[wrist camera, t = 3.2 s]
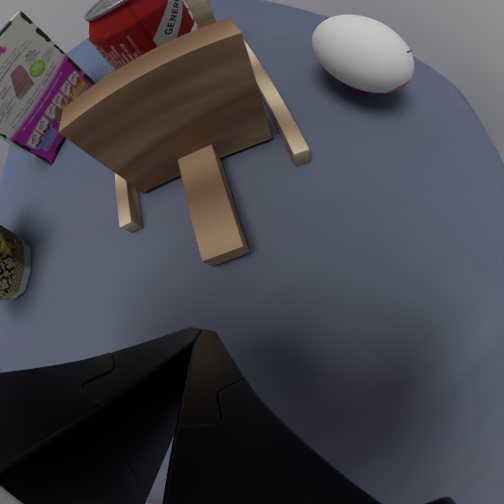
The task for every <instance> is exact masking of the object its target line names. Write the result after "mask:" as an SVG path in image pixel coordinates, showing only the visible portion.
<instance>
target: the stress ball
mask: <svg viewBox="0 0 504 504" xmlns="http://www.w3.org/2000/svg"><path fill="white" fill-rule="evenodd" d="M325 17H326V16H325ZM326 18H327V17H326ZM312 48H313V51H314V54H315V56H316V58H317V60H318V61H319V63H320V64H321V65H322V66H323V67H324V69H325V70H326V71H328V72H329V73H330V74H331V75H332V76H334V77H335V78H336V79H338V80H340V81H341V82H343V83H345V84H347V85H349V86H351V87H349V88H351V89H353V90H355V91H357V92H359V93H360V91H359V90H363V91H367V92H373V93H388V92H393V91H396V90H399V89H401V88H403V87H404V86H406V85H407V84H408V83H409V81H410V80H411V78H412V76H413V72H414V60H413V57H412V54H411V52H410V50H409V48H408V46H407V45H406V43H405V42H404V41H403V39H402V38H401V37H400V36H399V35H398V34H397V33H395V32H394V31H393V30H392V29H390V28H389V27H387V26H386V25H384V24H382V23H380V22H378V21H376V20H373V19H371V18H367V17H364V16H358V15H340V16H334V17H331V18H329V19H328V18H327V20H325V21H323V22H322V23H321V24H319V25H318V27H317V28H316V29H315V31H314V33H313V36H312Z"/></svg>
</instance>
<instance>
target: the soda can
mask: <svg viewBox="0 0 504 504" xmlns="http://www.w3.org/2000/svg"><path fill="white" fill-rule="evenodd" d="M84 19H85V20H86V21H89V40H90V41H91V43H92V44H93V45H94V46H95V47H96V48H97V49H98V51H99V52H100V53H101V54H102V55H103V56H104V58H105V59H106V60H107V61H108V62H109V63H110V65H111V66H112V67H113V68H114V69H115V70H118V69H119V68H121V67H122V66H124V65H126V64H128V63H129V62H131V61H133V60H134V59H136V58H138V57H140V56H142V55H143V54H145V53H147V52H149V51H151V50H153V49H155V48H157V47H159V46H161V45H163V44H165V43H167V42H169V41H171V40H174V39H176V38H178V37H180V36H182V35H185V34H187V33H190V32H192V31H194V30H197V29H199V28H198V26H197V24H196V22H195V20H194V17H193V15H192V13H191V11H190V9H189V7H188V5H187V3H186V1H185V0H99V1H98V2H97V3H96V4H95V5H93V6H92V7H91V8H90V9H89V11H88V12H87V13H86V14H85V16H84Z"/></svg>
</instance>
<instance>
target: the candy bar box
mask: <svg viewBox="0 0 504 504" xmlns="http://www.w3.org/2000/svg"><path fill="white" fill-rule="evenodd" d="M95 84H96V83H95V82H94V81H93V80H92V79H91V78H90V77H89V76H88V75H87V74H85V72H84V71H83V70H81V69H80V68H79V67H78V66H77V65H76V64H75V63H74V62H73V61H72V60H71V59H70V58H69V57H68V56H67V55H66V54H65V53H64V52H63V51H62V50H61V49H60V48H59V47H58V46H57V45H56V44H55V43H54V42H53V41H52V40H51V39H50V38H49V37H48V36H47V35H46V34H45V33H44V32H43V31H41V29H39V28H38V27H37V26H36V25H35V24H34V23H33V22H32V21H31V20H30V19H29V18H28V17H27V16H26V15H25V14H24V13H23V12H22V11H21V10H20V11H19V12H17V13H16V14H15V15H14V16H13V18H11V19H10V21H9V22H8V23H7V24H6V25H5V26H4V27H3V28H2V29H1V30H0V138H1V139H2V140H4V141H6V142H8V143H9V144H11V145H13V146H14V147H16V148H18V149H19V150H21V151H23V152H25V153H27V154H28V155H30V156H32V157H34V158H35V159H38V160H40V161H43V162H45V163H48V164H52V162H53V161H54V159H55V157H56V155H57V153H58V151H59V149H60V148H61V146H62V144H63V142H64V140H65V139H66V137H64V136H63V135H61V134H60V133H59V127H60V121H61V116H62V112H63V108H64V107H66V106H67V105H68V104H69V103H71V102H72V101H73V100H74V99H76V98H77V97H78V96H80V95H81V94H82V93H84V92H85V91H86V90H88V89H89V88H91V87H92V86H93V85H95Z"/></svg>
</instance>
